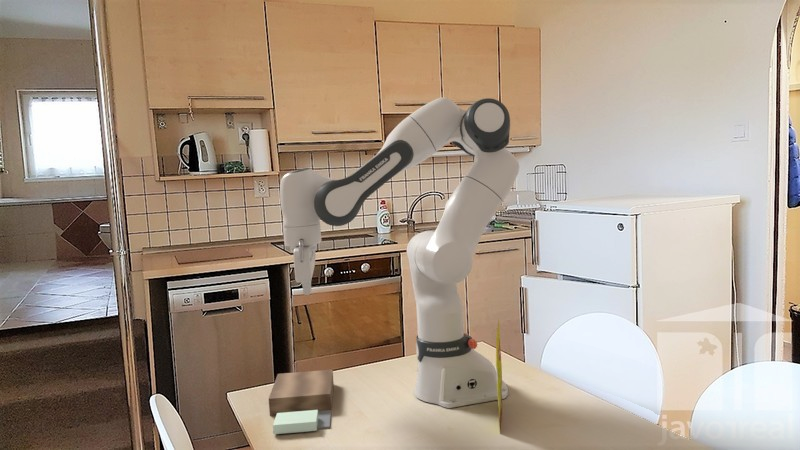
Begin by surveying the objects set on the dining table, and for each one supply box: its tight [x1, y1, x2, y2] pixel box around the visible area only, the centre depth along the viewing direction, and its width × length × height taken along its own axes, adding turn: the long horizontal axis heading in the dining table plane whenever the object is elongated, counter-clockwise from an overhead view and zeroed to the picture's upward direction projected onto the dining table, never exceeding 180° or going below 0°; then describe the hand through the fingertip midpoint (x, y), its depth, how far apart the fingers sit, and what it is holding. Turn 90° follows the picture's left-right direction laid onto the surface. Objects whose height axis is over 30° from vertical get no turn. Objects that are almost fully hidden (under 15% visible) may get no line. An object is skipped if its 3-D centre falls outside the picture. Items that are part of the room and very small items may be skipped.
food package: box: [495, 319, 503, 431], centre depth 122 cm, size 15×1×20 cm, turn 168°
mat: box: [272, 409, 332, 434], centre depth 126 cm, size 12×8×1 cm
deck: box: [268, 369, 335, 417], centre depth 139 cm, size 14×16×4 cm
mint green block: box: [272, 410, 318, 435], centre depth 123 cm, size 9×6×2 cm, turn 94°
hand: (307, 293), depth 138 cm, fingers closed
